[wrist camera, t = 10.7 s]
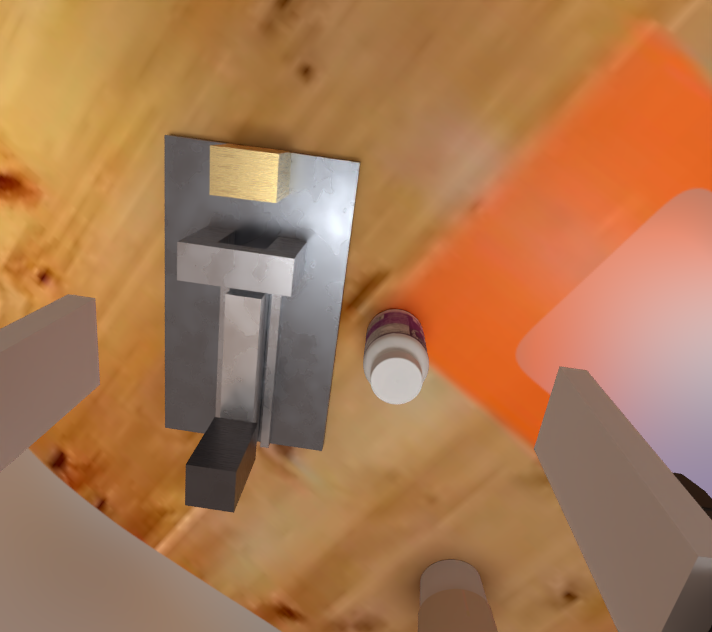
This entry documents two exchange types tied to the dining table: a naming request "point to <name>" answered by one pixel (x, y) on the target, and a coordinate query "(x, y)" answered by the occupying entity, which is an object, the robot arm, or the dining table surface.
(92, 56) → the dining table surface
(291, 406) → the slotted base plate
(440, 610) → the coffee cup
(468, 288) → the dining table surface
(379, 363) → the pill bottle
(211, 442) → the sliding bolt with handle
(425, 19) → the dining table surface
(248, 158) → the block
